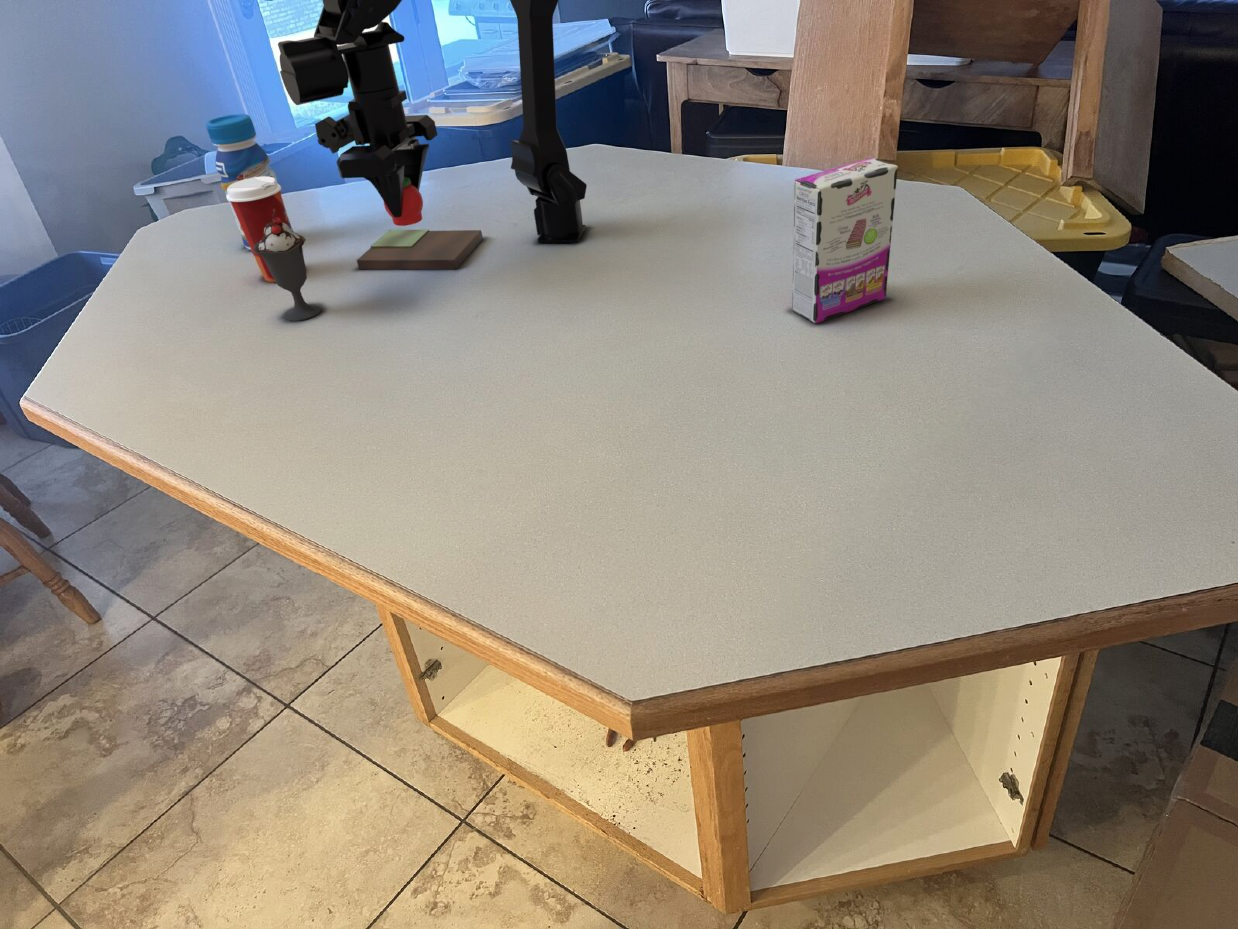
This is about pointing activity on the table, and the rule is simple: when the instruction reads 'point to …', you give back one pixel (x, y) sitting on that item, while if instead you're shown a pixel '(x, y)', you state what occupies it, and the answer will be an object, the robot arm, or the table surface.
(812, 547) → the table surface
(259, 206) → the paper cup
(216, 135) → the beverage bottle
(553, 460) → the table surface
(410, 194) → the red rounded piece
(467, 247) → the board
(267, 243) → the sundae
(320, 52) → the robot arm
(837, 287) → the candy bar box
